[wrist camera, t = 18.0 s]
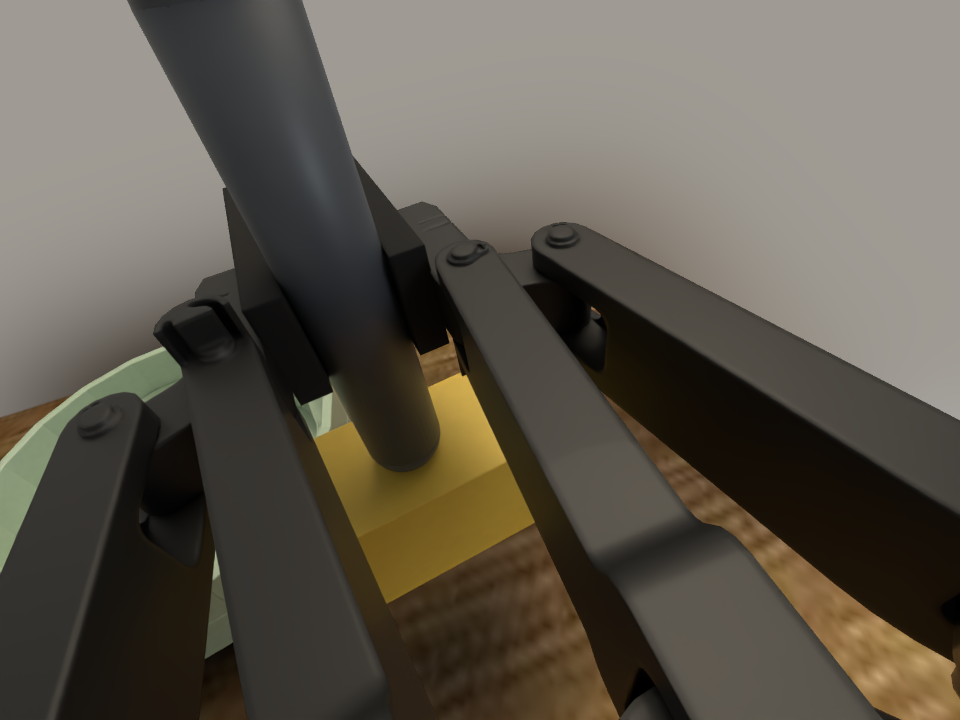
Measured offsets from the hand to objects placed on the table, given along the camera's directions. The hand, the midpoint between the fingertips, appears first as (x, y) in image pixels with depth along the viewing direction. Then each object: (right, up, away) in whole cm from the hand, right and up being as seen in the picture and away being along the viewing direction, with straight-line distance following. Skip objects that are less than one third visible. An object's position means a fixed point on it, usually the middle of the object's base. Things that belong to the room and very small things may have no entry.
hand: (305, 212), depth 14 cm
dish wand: (+4, -10, +3) cm, 11 cm away
